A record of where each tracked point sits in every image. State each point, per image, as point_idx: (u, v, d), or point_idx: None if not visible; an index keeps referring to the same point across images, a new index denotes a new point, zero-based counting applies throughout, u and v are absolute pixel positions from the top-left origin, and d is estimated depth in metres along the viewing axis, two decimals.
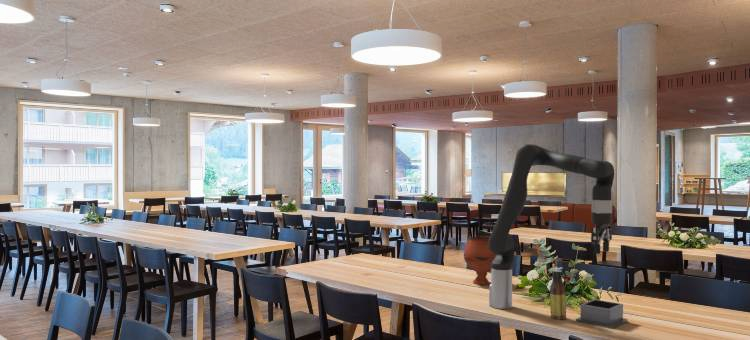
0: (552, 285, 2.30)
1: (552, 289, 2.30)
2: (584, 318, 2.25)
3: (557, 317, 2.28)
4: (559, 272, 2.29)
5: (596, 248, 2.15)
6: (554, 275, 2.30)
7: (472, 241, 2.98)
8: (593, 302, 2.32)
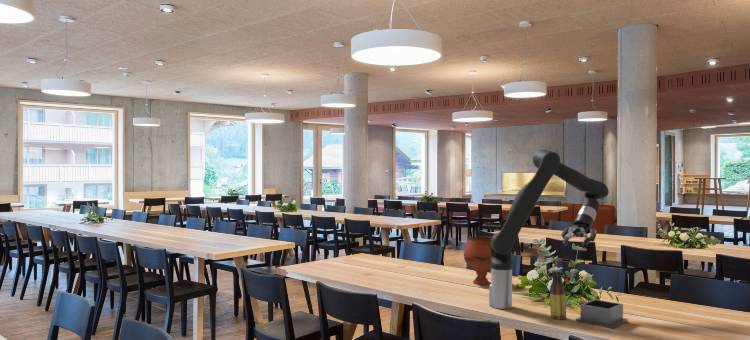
0: (552, 285, 2.30)
1: (552, 289, 2.30)
2: (584, 318, 2.25)
3: (557, 317, 2.28)
4: (559, 272, 2.29)
5: (587, 244, 2.39)
6: (554, 275, 2.30)
7: (472, 241, 2.98)
8: (593, 302, 2.32)
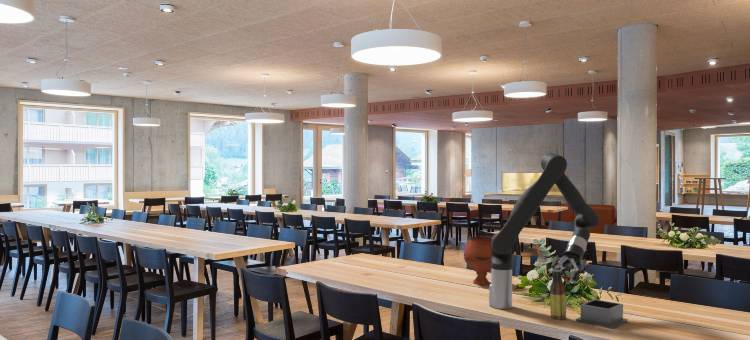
0: (552, 285, 2.30)
1: (552, 289, 2.30)
2: (584, 318, 2.25)
3: (557, 317, 2.28)
4: (559, 272, 2.29)
5: (577, 276, 2.32)
6: (554, 275, 2.30)
7: (472, 241, 2.98)
8: (593, 302, 2.32)
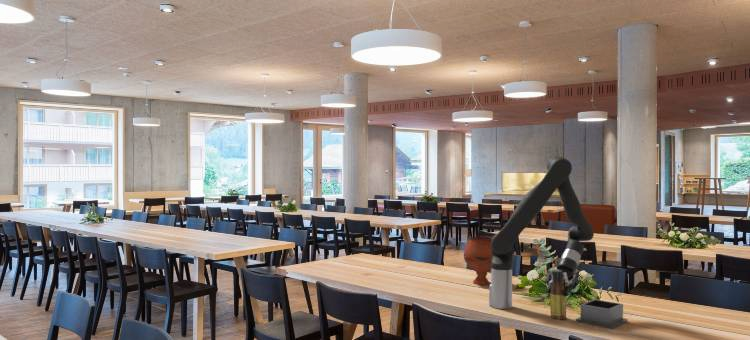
0: (552, 285, 2.30)
1: (552, 289, 2.30)
2: (584, 318, 2.25)
3: (557, 317, 2.28)
4: (559, 272, 2.29)
5: (568, 291, 2.28)
6: (554, 275, 2.30)
7: (472, 241, 2.98)
8: (593, 302, 2.32)
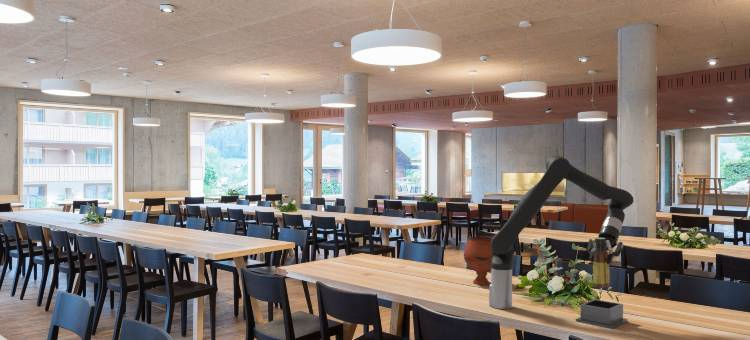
0: (595, 253, 2.25)
1: (595, 257, 2.25)
2: (584, 318, 2.25)
3: (601, 285, 2.24)
4: (602, 239, 2.24)
5: (611, 259, 2.23)
6: (597, 243, 2.25)
7: (472, 241, 2.98)
8: (593, 302, 2.32)
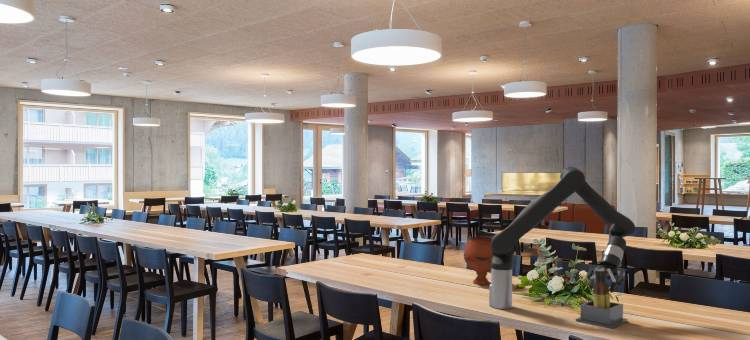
0: (595, 285, 2.26)
1: (596, 289, 2.25)
2: (584, 318, 2.25)
3: None
4: (602, 271, 2.25)
5: (615, 287, 2.23)
6: (597, 275, 2.25)
7: (472, 241, 2.98)
8: (593, 302, 2.32)
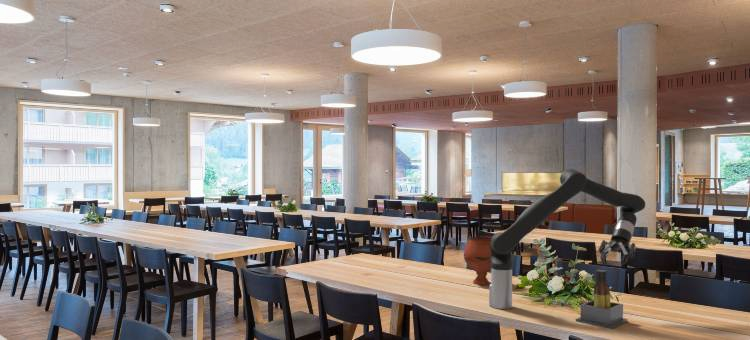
0: (596, 285, 2.25)
1: (596, 289, 2.25)
2: (584, 318, 2.25)
3: None
4: (604, 272, 2.24)
5: (626, 260, 2.32)
6: (598, 275, 2.25)
7: (472, 241, 2.98)
8: (593, 302, 2.32)
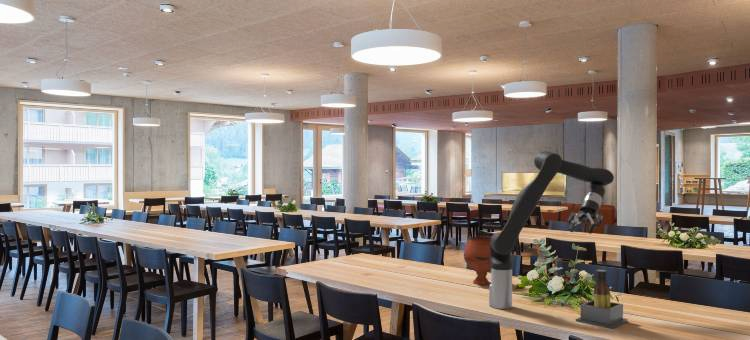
0: (596, 285, 2.25)
1: (596, 289, 2.25)
2: (584, 318, 2.25)
3: None
4: (604, 272, 2.24)
5: (593, 229, 2.41)
6: (598, 275, 2.25)
7: (472, 241, 2.98)
8: (593, 302, 2.32)
